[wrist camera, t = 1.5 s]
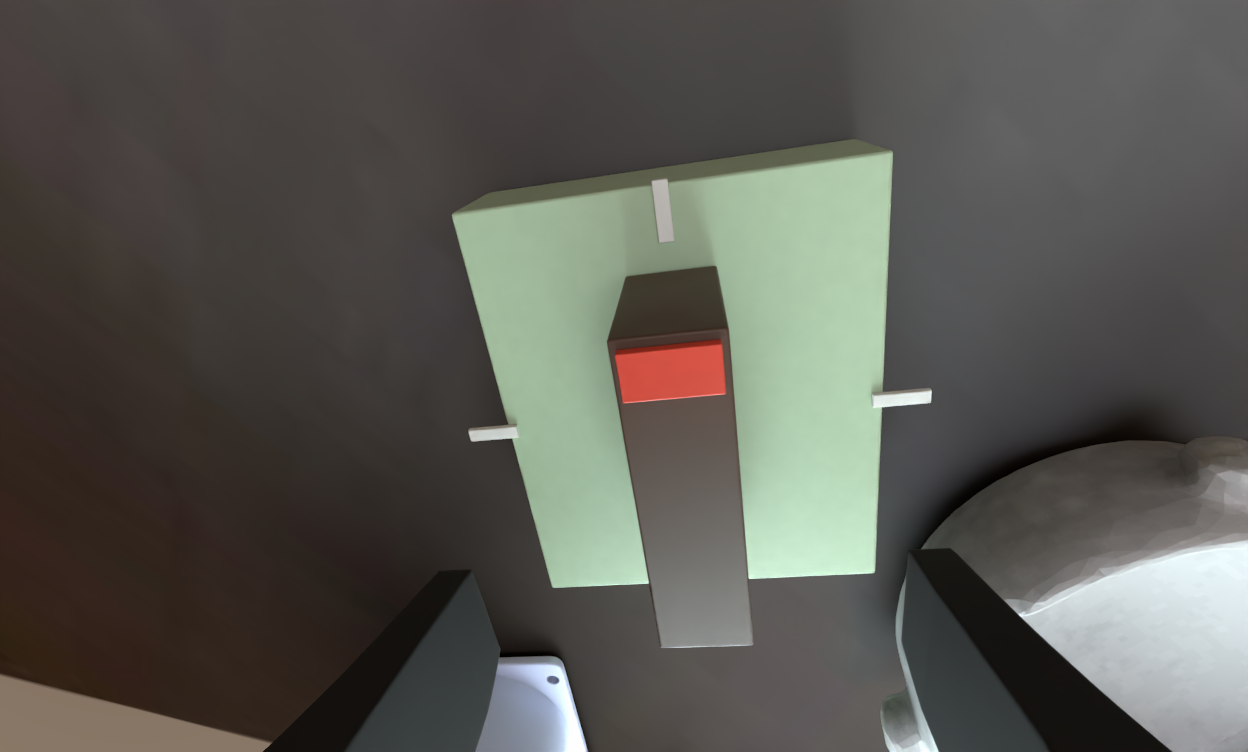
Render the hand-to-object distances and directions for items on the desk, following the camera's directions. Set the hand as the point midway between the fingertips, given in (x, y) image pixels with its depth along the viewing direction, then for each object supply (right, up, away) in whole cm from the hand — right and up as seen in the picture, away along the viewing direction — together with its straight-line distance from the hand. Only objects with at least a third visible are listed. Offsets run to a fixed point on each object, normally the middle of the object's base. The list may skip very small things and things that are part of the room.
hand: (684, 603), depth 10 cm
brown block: (+1, +3, +6) cm, 6 cm away
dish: (+15, -4, +11) cm, 19 cm away
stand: (+1, +4, +9) cm, 10 cm away
